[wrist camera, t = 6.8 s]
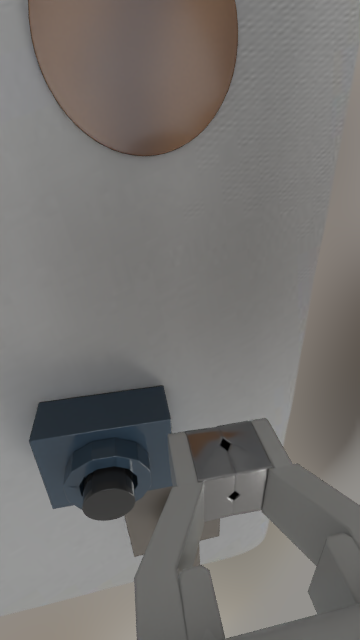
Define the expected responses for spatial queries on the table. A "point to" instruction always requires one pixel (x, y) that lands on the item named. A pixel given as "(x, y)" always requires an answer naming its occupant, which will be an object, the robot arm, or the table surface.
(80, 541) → the table surface
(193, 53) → the coaster
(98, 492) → the dark grey push button
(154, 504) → the platform
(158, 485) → the blue push button box
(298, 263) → the table surface
